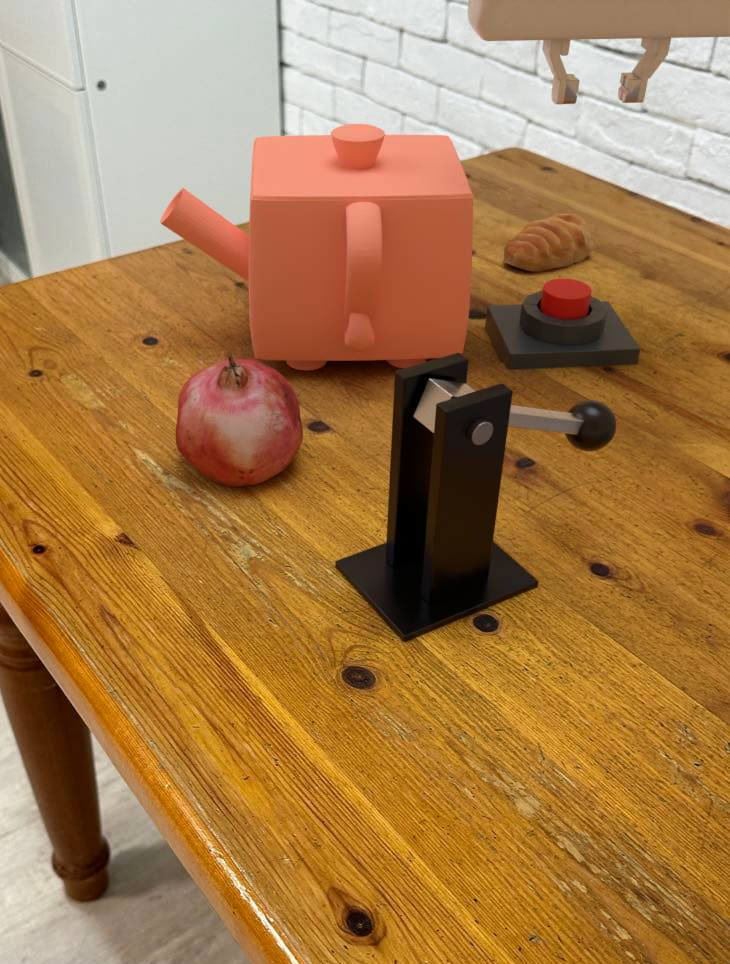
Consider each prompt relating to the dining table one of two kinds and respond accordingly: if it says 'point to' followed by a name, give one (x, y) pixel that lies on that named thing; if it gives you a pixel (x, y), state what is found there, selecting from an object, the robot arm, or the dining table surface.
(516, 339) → the button box
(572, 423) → the tap lever
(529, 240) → the pastry
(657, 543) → the dining table surface
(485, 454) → the bracket
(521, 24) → the robot arm
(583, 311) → the red push button
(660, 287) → the dining table surface
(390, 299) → the teapot
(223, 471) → the fruit
